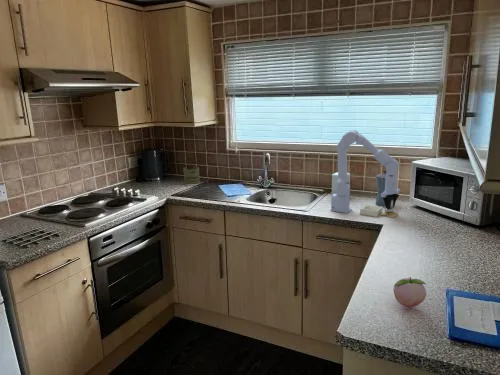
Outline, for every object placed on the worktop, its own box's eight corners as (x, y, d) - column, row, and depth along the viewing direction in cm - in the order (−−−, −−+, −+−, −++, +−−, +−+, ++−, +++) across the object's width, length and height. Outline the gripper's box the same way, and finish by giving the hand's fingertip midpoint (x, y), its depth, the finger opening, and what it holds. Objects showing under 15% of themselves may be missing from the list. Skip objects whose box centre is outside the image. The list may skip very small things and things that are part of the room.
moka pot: (373, 207, 217) (375, 172, 212) (375, 200, 231) (377, 167, 226) (391, 208, 214) (393, 173, 209) (392, 201, 228) (394, 168, 223)
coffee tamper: (390, 213, 200) (391, 201, 198) (383, 211, 203) (384, 199, 202) (395, 211, 202) (396, 199, 201) (388, 209, 206) (388, 197, 204)
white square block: (350, 196, 241) (350, 173, 237) (345, 199, 234) (346, 175, 230) (336, 194, 246) (336, 171, 242) (331, 198, 238) (331, 174, 235)
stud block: (380, 215, 202) (380, 212, 202) (384, 212, 208) (384, 209, 208) (394, 218, 198) (394, 214, 198) (398, 214, 204) (398, 211, 203)
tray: (359, 214, 206) (360, 208, 205) (365, 209, 213) (366, 204, 212) (376, 217, 201) (376, 211, 200) (382, 212, 208) (382, 207, 207)
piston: (182, 167, 288) (197, 166, 292) (183, 183, 291) (198, 181, 295) (184, 170, 278) (200, 168, 281) (185, 186, 281) (201, 184, 284)
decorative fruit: (413, 298, 122) (416, 269, 120) (429, 312, 115) (432, 281, 112) (386, 301, 121) (388, 272, 119) (400, 315, 113) (402, 284, 111)
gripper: (390, 186, 192) (388, 212, 195) (406, 181, 200) (404, 206, 203) (377, 184, 197) (376, 209, 200) (393, 179, 206) (392, 204, 209)
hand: (389, 208), depth 202 cm, fingers closed on coffee tamper, 3 cm apart
